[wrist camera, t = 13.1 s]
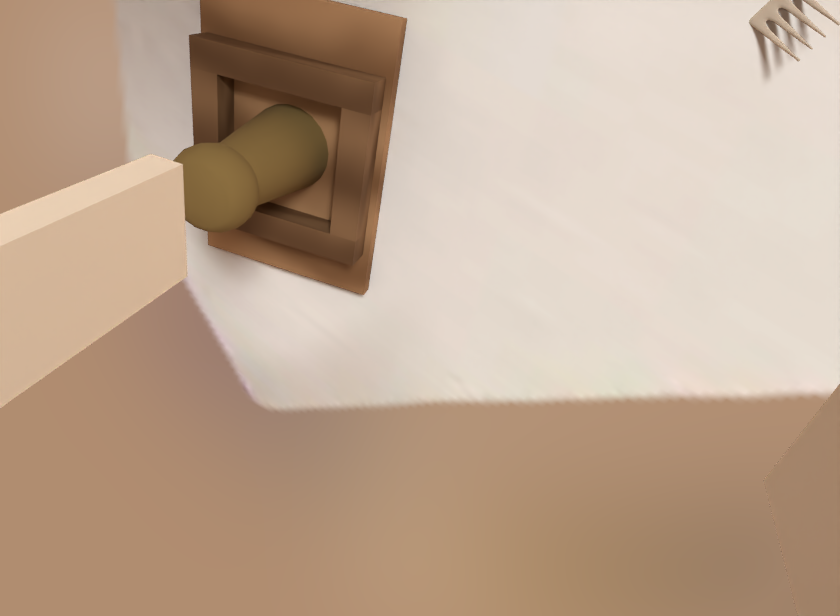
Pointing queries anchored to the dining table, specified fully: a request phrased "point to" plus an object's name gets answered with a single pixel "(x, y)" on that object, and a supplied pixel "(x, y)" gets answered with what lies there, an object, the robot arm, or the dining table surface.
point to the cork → (251, 167)
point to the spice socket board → (322, 99)
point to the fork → (772, 14)
